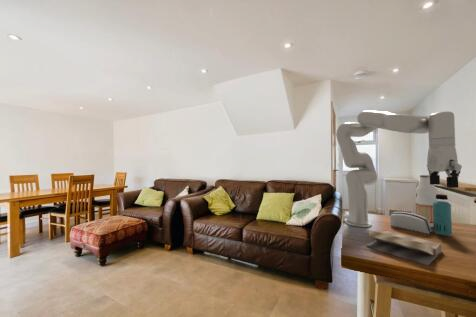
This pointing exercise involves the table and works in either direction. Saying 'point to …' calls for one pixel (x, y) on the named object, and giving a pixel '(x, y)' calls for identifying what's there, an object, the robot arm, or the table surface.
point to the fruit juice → (426, 199)
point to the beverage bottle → (442, 216)
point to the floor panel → (407, 249)
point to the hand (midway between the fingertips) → (443, 185)
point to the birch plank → (402, 242)
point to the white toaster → (410, 222)
